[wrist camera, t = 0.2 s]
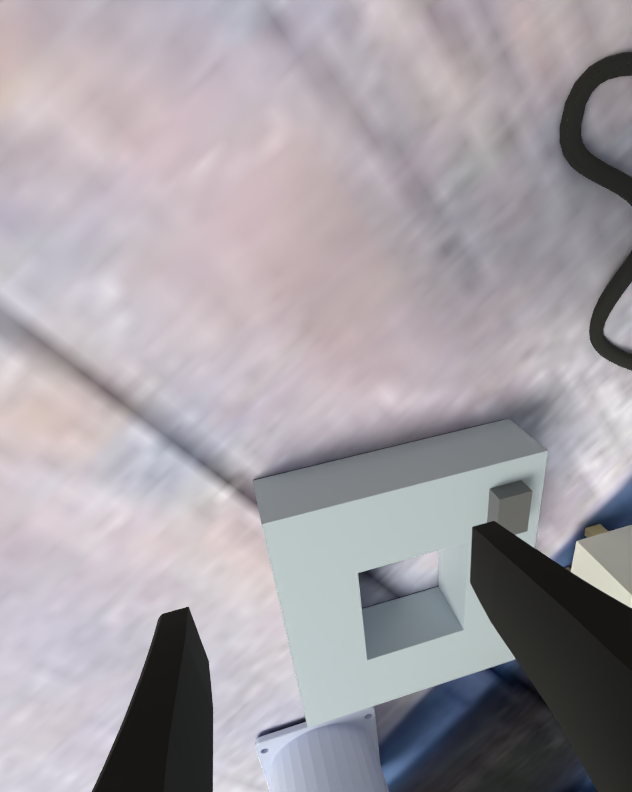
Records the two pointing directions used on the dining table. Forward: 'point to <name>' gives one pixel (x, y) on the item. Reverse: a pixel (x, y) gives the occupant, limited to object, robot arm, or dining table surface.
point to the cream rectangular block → (606, 561)
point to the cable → (605, 177)
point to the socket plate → (388, 543)
